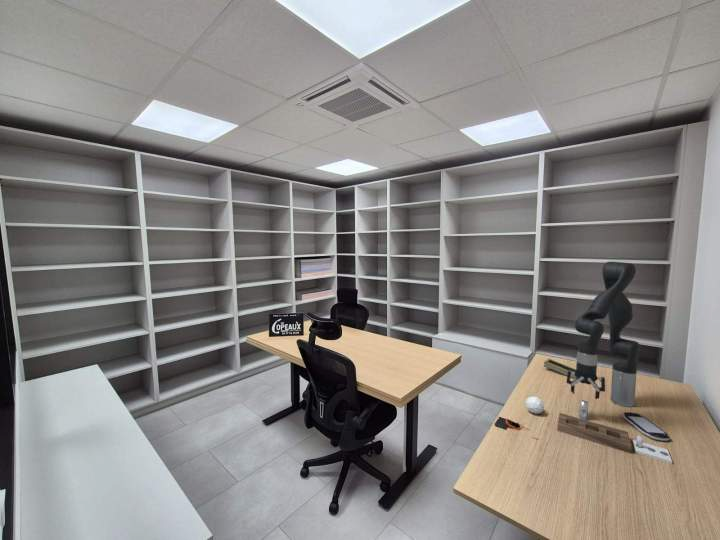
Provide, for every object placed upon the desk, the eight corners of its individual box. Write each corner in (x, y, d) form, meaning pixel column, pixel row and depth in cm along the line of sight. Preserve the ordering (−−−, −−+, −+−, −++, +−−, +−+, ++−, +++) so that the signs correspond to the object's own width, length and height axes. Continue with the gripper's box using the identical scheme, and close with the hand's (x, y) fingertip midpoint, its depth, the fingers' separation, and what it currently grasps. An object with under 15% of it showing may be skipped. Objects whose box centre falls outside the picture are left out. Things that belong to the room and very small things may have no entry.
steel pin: (578, 415, 142) (579, 399, 141) (587, 417, 140) (588, 401, 139) (578, 418, 140) (579, 402, 139) (587, 420, 138) (588, 404, 137)
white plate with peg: (632, 441, 123) (633, 430, 122) (667, 451, 117) (668, 439, 116) (635, 452, 116) (636, 440, 116) (671, 463, 110) (672, 451, 110)
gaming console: (618, 415, 142) (618, 410, 142) (639, 417, 141) (640, 412, 141) (650, 441, 123) (650, 436, 123) (675, 444, 122) (675, 438, 122)
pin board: (559, 418, 139) (559, 412, 139) (627, 438, 125) (628, 431, 125) (557, 430, 131) (557, 424, 130) (630, 453, 116) (631, 446, 116)
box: (546, 364, 198) (548, 357, 197) (586, 381, 182) (589, 373, 181) (542, 368, 193) (543, 361, 192) (583, 385, 177) (586, 378, 176)
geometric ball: (532, 419, 144) (524, 408, 142) (529, 405, 151) (521, 394, 149) (549, 415, 140) (541, 404, 139) (544, 402, 147) (536, 390, 145)
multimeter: (545, 431, 131) (545, 423, 131) (537, 444, 122) (538, 436, 122) (502, 415, 143) (502, 408, 143) (493, 426, 135) (493, 419, 135)
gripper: (606, 363, 136) (603, 397, 137) (568, 356, 145) (566, 388, 146) (607, 368, 130) (604, 403, 131) (567, 360, 139) (565, 394, 140)
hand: (584, 395), depth 139 cm, fingers open, 8 cm apart
